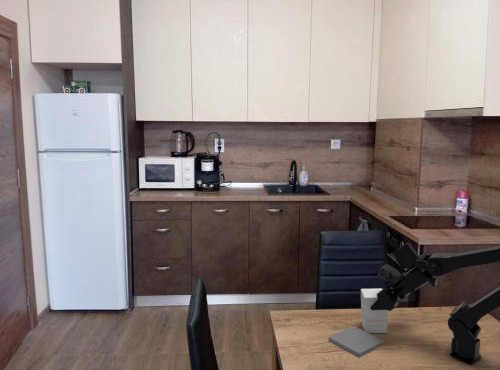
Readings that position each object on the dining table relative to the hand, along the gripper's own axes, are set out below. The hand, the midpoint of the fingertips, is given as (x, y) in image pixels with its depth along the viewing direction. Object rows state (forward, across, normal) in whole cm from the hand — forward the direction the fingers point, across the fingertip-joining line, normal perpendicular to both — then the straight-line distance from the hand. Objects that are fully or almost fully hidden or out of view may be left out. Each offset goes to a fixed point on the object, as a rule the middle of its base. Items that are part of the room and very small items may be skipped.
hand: (376, 303), depth 136 cm
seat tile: (+7, +12, +5) cm, 15 cm away
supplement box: (+6, 0, +6) cm, 9 cm away
